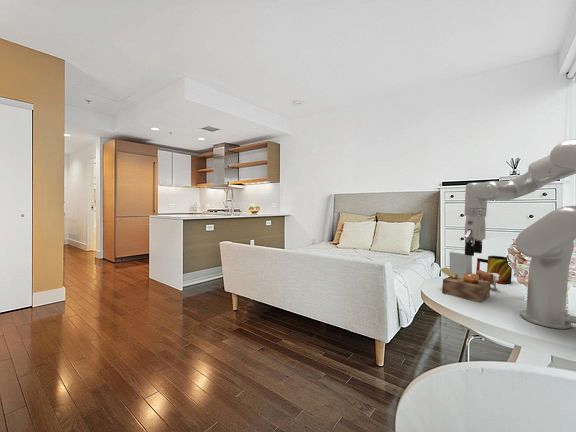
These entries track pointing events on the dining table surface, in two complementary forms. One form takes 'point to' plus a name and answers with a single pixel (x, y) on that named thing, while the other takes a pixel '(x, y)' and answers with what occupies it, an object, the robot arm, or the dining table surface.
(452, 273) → the plate
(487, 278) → the bull figurine
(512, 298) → the dining table surface
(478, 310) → the dining table surface
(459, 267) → the skincare box
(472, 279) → the orange-brown domed cylinder
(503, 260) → the mug
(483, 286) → the block
